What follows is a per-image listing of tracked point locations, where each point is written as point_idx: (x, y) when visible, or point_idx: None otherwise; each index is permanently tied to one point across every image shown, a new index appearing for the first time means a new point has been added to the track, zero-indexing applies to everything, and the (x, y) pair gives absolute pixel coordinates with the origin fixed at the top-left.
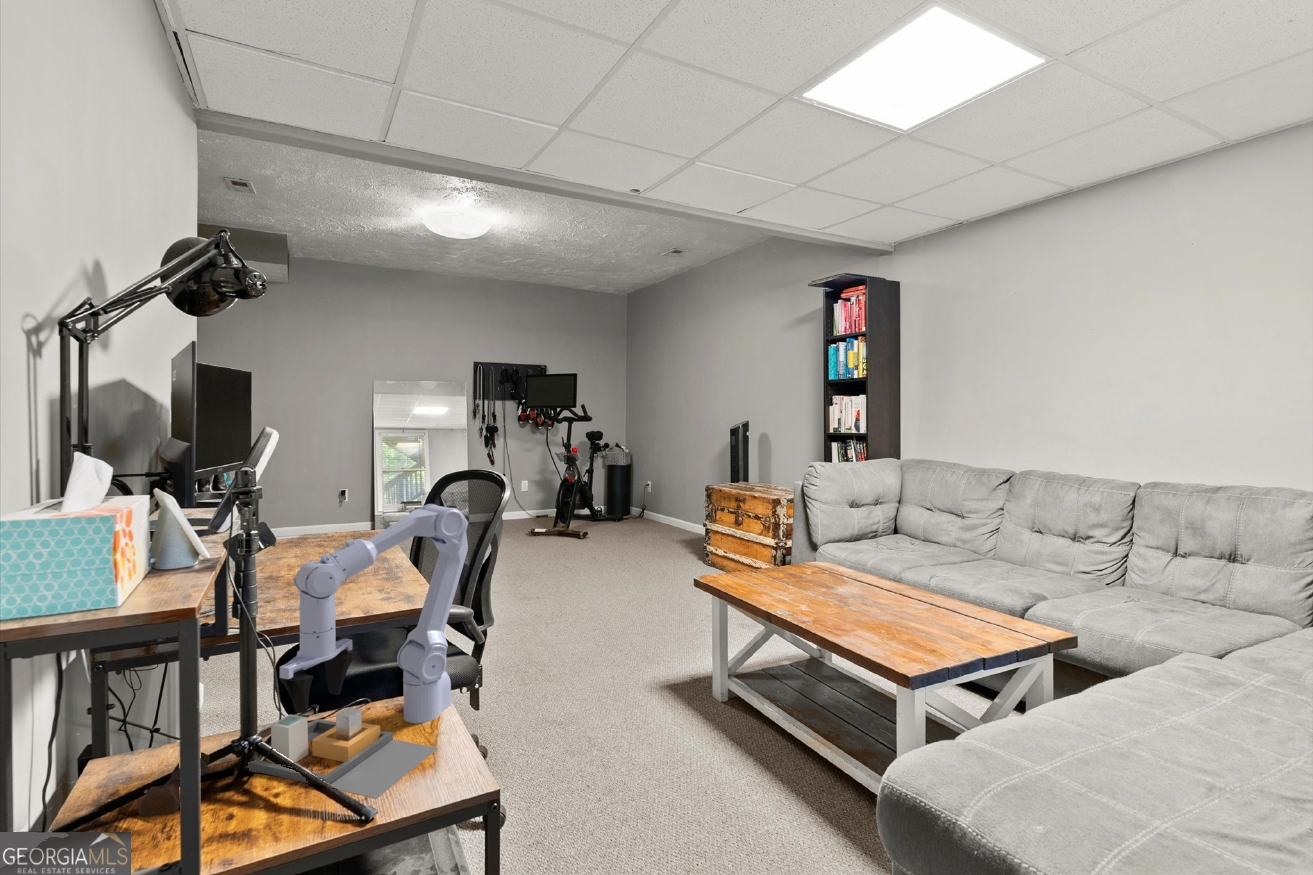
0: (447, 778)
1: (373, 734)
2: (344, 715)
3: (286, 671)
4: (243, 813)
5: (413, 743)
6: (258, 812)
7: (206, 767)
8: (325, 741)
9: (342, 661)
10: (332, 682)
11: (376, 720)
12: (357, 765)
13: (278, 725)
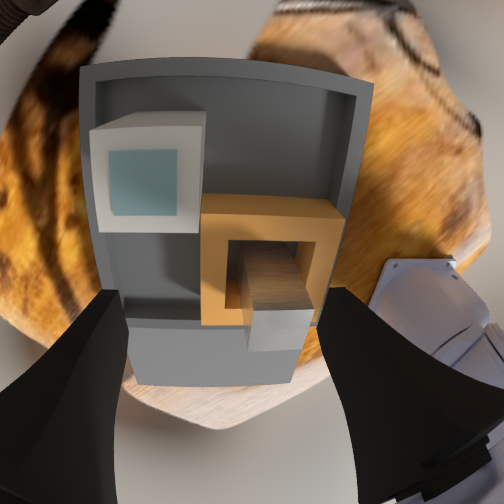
0: (229, 404)
1: None
2: (254, 336)
3: None
4: (15, 213)
5: (300, 350)
6: (29, 236)
7: (49, 2)
8: (205, 258)
9: (366, 488)
10: (348, 347)
11: (412, 203)
12: None
13: (97, 169)
